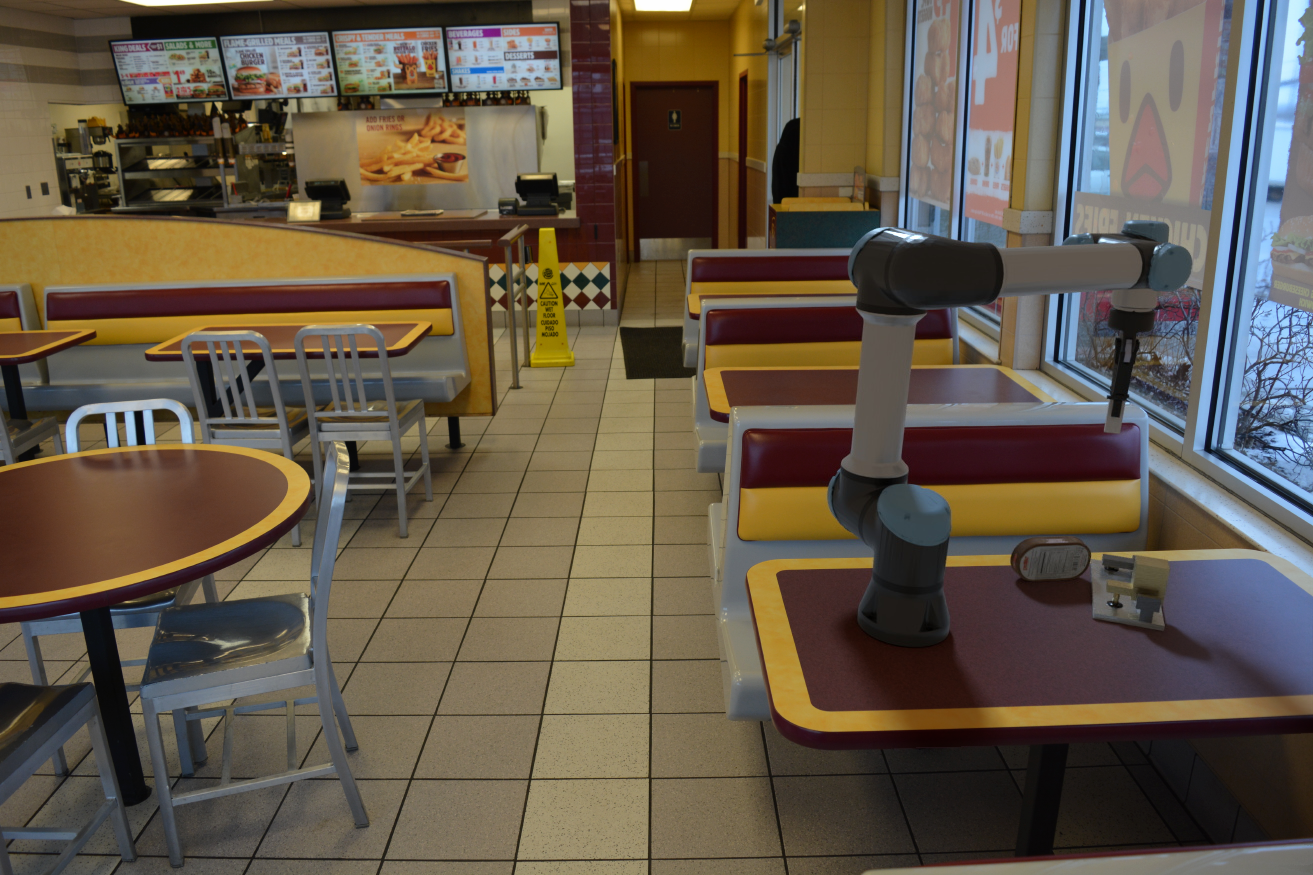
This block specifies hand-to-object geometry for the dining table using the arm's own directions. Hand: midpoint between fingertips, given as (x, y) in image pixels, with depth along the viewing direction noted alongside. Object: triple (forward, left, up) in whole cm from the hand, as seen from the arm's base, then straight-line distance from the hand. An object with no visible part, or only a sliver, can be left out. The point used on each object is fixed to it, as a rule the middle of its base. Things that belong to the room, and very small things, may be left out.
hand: (1111, 431), depth 180 cm
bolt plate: (+6, -14, -26) cm, 30 cm away
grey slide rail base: (+6, -14, -25) cm, 30 cm away
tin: (-8, -13, -27) cm, 31 cm away
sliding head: (+6, -22, -25) cm, 34 cm away
